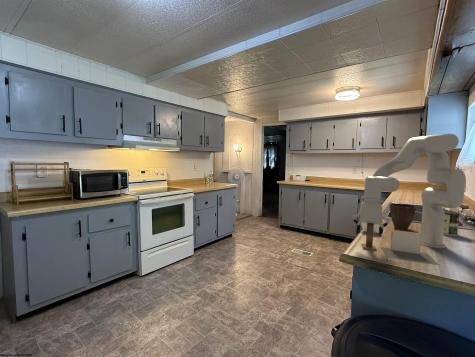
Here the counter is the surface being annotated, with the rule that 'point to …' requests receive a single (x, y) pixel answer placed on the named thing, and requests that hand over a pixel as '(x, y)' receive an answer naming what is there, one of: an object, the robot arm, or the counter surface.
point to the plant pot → (402, 215)
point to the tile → (405, 241)
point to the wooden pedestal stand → (369, 238)
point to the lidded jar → (364, 226)
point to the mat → (409, 256)
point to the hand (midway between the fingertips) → (369, 233)
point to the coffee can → (451, 223)
